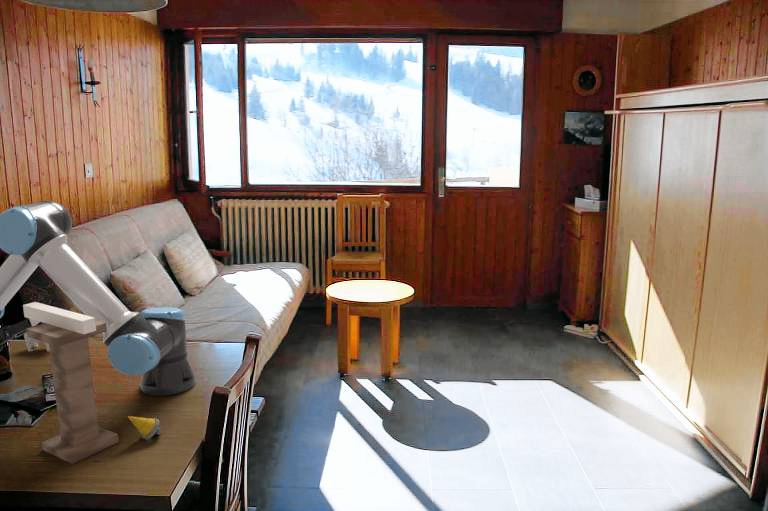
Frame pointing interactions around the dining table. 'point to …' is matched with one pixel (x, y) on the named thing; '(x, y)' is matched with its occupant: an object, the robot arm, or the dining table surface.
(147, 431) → the drill bit
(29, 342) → the dog figurine
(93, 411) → the pedestal
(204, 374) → the dining table surface
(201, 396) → the dining table surface
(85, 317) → the bar
